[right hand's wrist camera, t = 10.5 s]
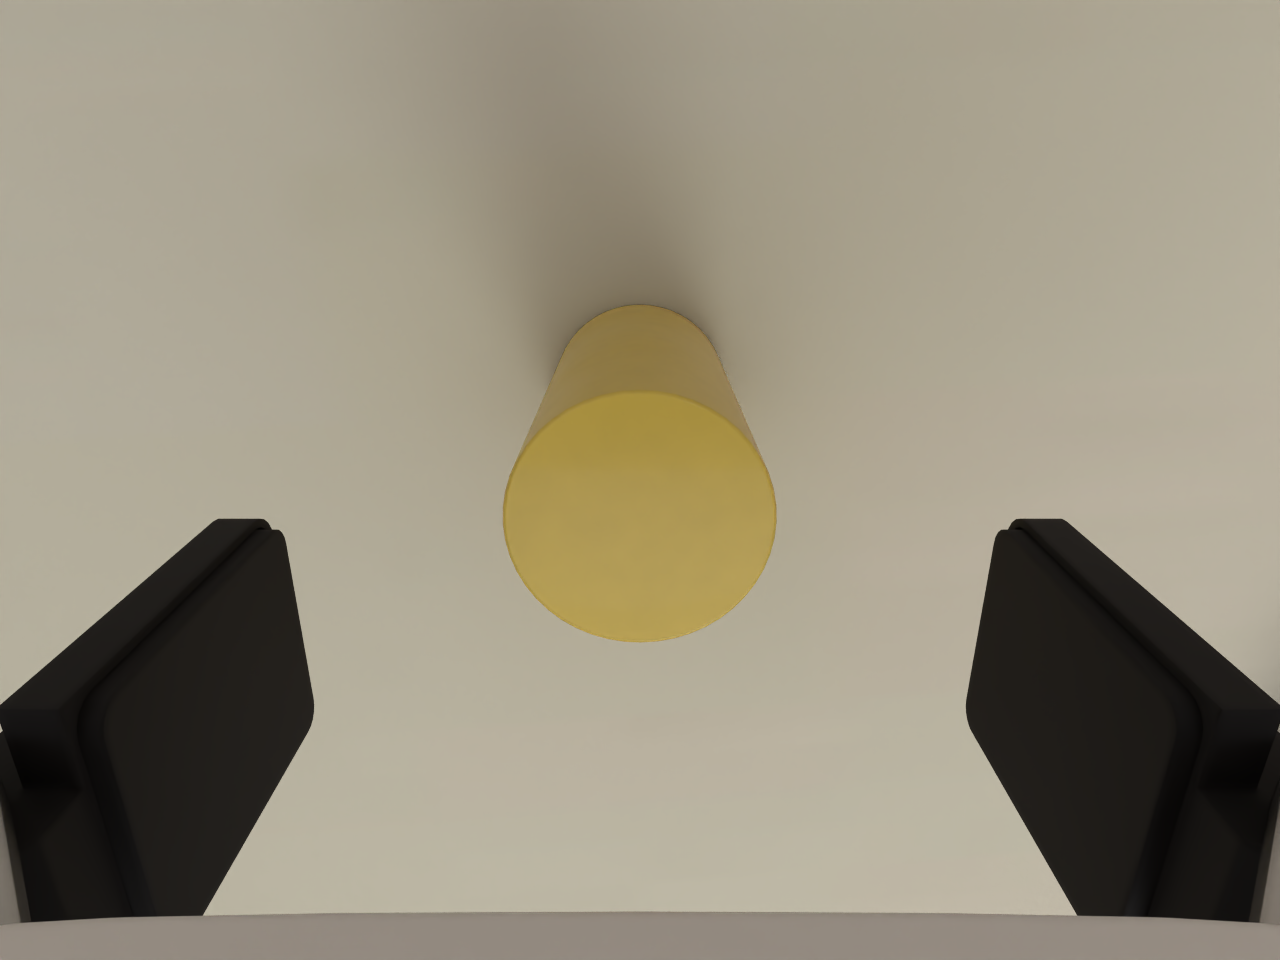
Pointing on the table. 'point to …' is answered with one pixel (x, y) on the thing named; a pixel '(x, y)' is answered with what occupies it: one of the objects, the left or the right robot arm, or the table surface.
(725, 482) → the tin
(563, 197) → the table surface
